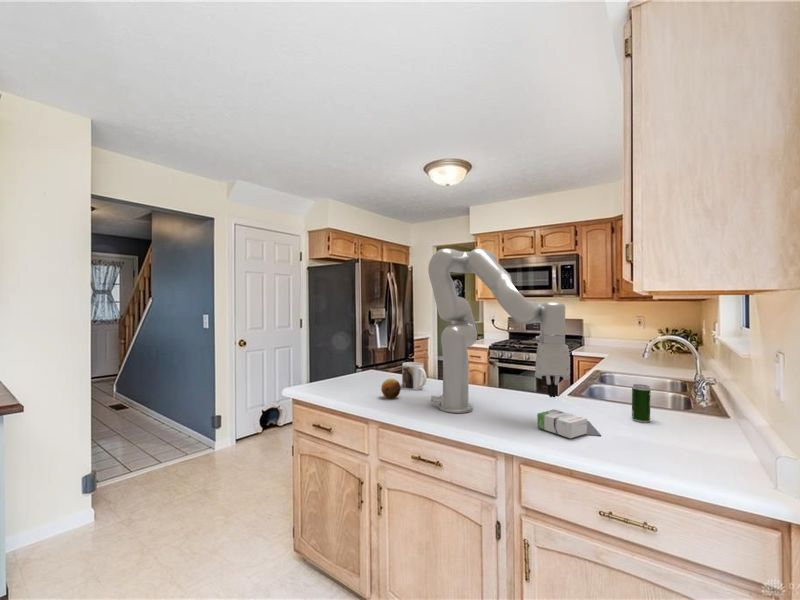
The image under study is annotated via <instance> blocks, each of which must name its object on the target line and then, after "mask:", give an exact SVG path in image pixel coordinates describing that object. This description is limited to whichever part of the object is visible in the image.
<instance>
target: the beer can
mask: <svg viewBox="0 0 800 600" xmlns="http://www.w3.org/2000/svg"><path fill="white" fill-rule="evenodd" d="M651 393H652V391H651V388H650V385H646V384H638V383H633V384H632V388H631V419H632V420H633V421H634V422H636V423H642V424H648V423H650V420H651V397H652V396H651Z"/></svg>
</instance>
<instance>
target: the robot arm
mask: <svg viewBox="0 0 800 600" xmlns="http://www.w3.org/2000/svg"><path fill="white" fill-rule="evenodd" d="M427 269H428V277H429V282H430V284H431V288H432V292H433V297H434V298H433V299H434V301H435V305H436V309H437V313H438V316H439V317H440V319H441V320H442V321H444V322H451V324H450V325H448V326H446V327H445V328H444V329H443V330H442V333H441V336H440V339H441V340H440V342H441V343H440V344H441V349H442V395H439V396H434V395H431V396H430V401H431V402H433V403H438V409H439V410H440V411H443V412H446V413H452V414H465V413H470V412H471V411H473V405H472V404H470V403H469V382H470V379H469V375H470V374H469V373H470V371H469V369H470V368H469V366H470V365H469V354H468V348H470V347H472V346H474V344H475V343H476V342H477V339H478V330H477V325H476V322H475V319H474V314H473V310H472V307H471V304H470V303H469V302H468V300H467V299H465V297H462V296H458V293H457V289H456V285H455V282H454V280H453V278H452V277H451V273H456V274H458V273H459V274H475V276H476V277H477V278H478V279H479V280H480V281H481V282H482V283H483V285H485V286H486V288H487V289H489V290H490V291H491V293H492V295H493V297H494V298H495V300H496V301H497V302H498V304H499V306H500V307H502V309H503V311H505V312H506V314H508V315H509V317H510V318H512V319H513V320H514V322H517V323H518V324H520V325H529V324H530V325H532V324H538V323H539V324H540V325H539V326H540V328H539V329H540V334H539V335H536V336H535V341H539V343H538V344H537V347H536V352H535V353H536V355H535V373H534V377H535V378H536V379H540V380H542V381H544V383H546V394H548V396H549V398H556V395H558V386H559V385H560V383H561V382H562V381H566V380H569V379H571V376H570V375H571V362H570V360H571V359H570V350H569V346H568V345H567V344H566V305H565V304H564V303H563V302H553V301H552V302H551V301H550V302H549V301H548V302H537V301H529V300H528V299H526V298H525V296H524V295H522V294H521V293H520V292H519V291H518V289H517V288H516V287H515V285H514V284H513V281H512V277H511V274H510V273H509V272H508V271H507V270H506V269H505V268H504V267H503V266H502V265H501V264H500V263H499V262H498V259H497V257H496V255H495V254H494V253H493V252H491V251H490V250H487V249H484V248H479V247H478V248H474V249H472V250H471V251H460V250H457V249H453V248H441V249H439V250H437V251H436V252H434V254H433V255H432V256H431V258H430V260H429V263H428V268H427ZM551 377H553V381H551Z"/></svg>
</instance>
